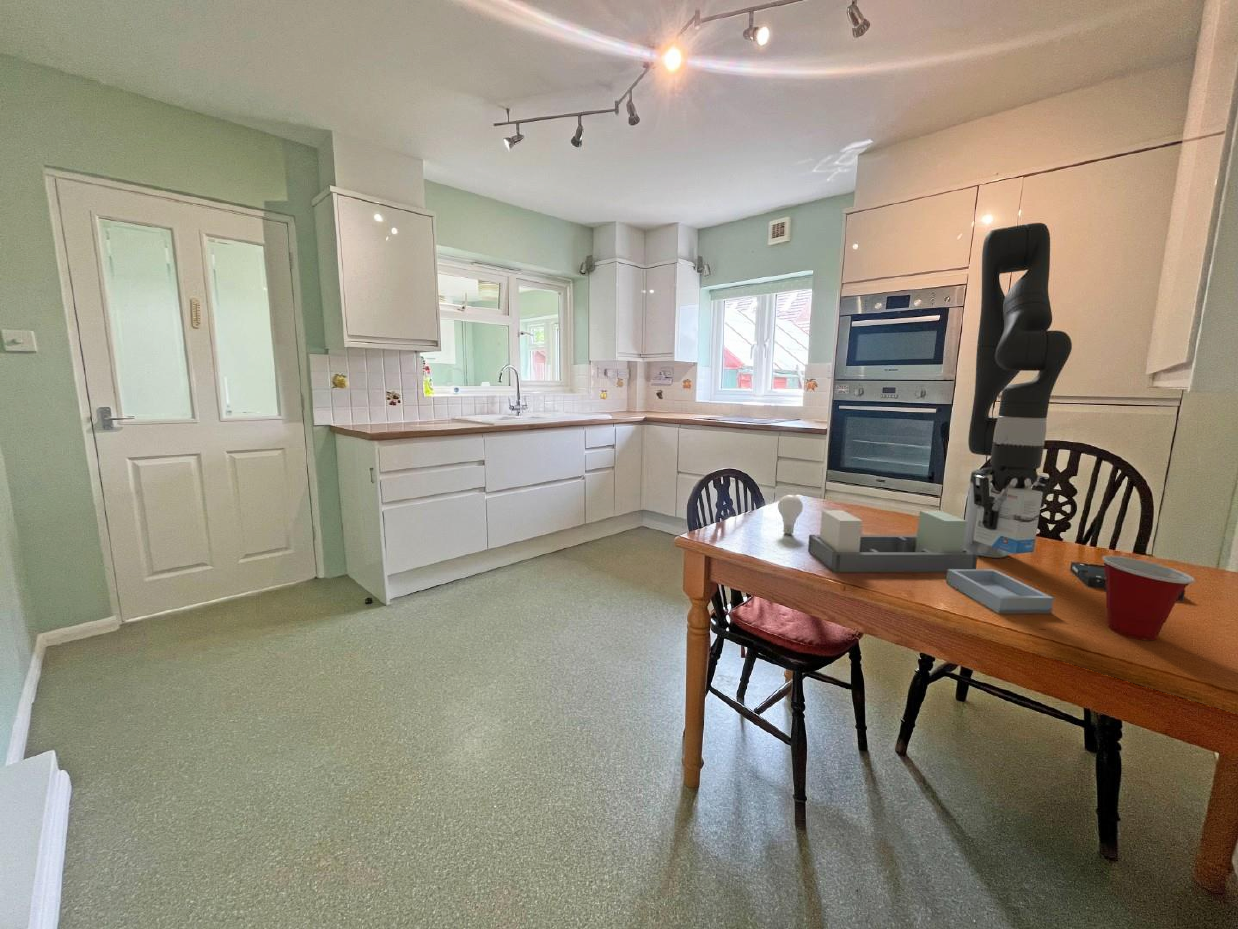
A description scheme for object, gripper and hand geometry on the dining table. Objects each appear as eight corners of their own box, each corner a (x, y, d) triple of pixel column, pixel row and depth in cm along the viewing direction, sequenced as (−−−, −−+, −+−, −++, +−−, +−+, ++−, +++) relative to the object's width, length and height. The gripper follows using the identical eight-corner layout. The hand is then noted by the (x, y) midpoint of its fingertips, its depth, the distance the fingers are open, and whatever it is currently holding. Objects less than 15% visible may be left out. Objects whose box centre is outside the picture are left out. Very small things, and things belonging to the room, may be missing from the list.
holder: (933, 550, 125) (935, 535, 125) (975, 571, 112) (977, 554, 111) (807, 550, 124) (809, 534, 123) (834, 572, 110) (836, 554, 109)
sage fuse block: (934, 554, 123) (940, 510, 121) (960, 568, 114) (967, 521, 112) (914, 554, 123) (919, 510, 121) (939, 568, 114) (945, 521, 112)
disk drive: (1086, 589, 105) (1184, 603, 98) (1088, 576, 104) (1187, 589, 98) (1068, 572, 114) (1157, 584, 108) (1070, 560, 113) (1159, 571, 107)
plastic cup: (1199, 654, 79) (1216, 581, 77) (1115, 643, 82) (1129, 573, 80) (1149, 622, 89) (1162, 557, 87) (1075, 613, 92) (1087, 551, 90)
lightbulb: (803, 538, 134) (807, 498, 132) (779, 537, 134) (782, 497, 132) (796, 531, 140) (799, 492, 138) (773, 530, 140) (775, 492, 138)
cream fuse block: (838, 554, 122) (842, 510, 120) (857, 568, 113) (862, 520, 111) (818, 554, 122) (822, 510, 120) (835, 568, 113) (840, 520, 111)
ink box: (1034, 553, 93) (1045, 491, 91) (1013, 554, 92) (1023, 492, 90) (991, 538, 101) (1000, 481, 100) (971, 540, 100) (980, 482, 98)
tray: (992, 582, 106) (994, 569, 105) (1051, 613, 92) (1054, 598, 91) (945, 582, 105) (947, 569, 105) (998, 613, 91) (1001, 598, 91)
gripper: (1037, 439, 97) (1024, 523, 100) (966, 438, 97) (954, 523, 100) (1074, 444, 90) (1058, 535, 93) (996, 443, 89) (983, 534, 92)
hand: (1004, 528), depth 96 cm, fingers closed on ink box, 5 cm apart
